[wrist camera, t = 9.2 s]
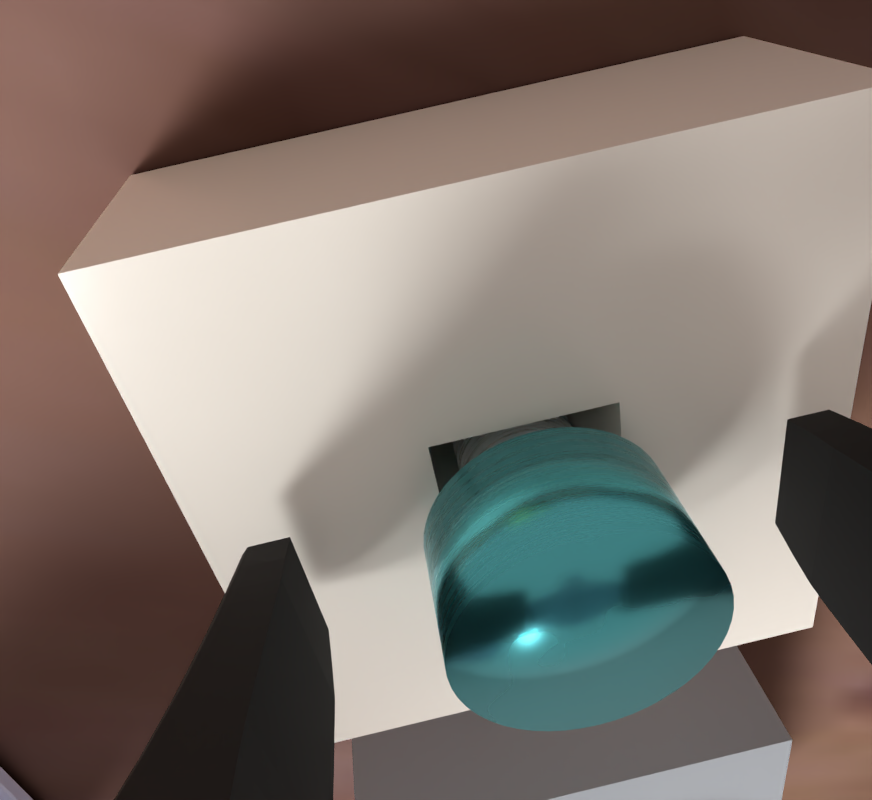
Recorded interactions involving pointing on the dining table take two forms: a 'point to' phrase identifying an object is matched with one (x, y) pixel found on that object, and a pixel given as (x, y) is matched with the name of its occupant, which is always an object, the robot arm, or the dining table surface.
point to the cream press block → (494, 323)
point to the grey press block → (594, 751)
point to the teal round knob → (568, 579)
